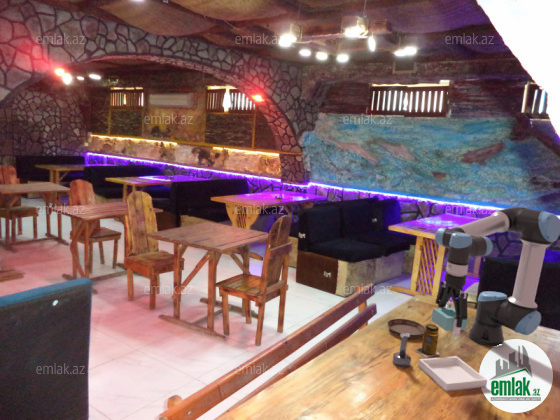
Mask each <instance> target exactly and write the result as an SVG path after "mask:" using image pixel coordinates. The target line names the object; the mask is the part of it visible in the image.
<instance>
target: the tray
mask: <svg viewBox="0 0 560 420" xmlns="http://www.w3.org/2000/svg"><path fill="white" fill-rule="evenodd" d="M417 366H418V368H419V369H421V370H422V372H424V373H425V374H426V375H427V376H429V378H430V379H432V381H433V382H435V383H436V384H437V386H439V387H440V388H442V390H443V391H445V392H454V391H463V390H464V391H465V390H473V389H480V387H482V388H486V387H487V384H488V379H487V378H486V377H484V376H483V375H482V374H480V373H479V372H478V371H476V369H474V368H473V367H471V366H470V365H469V364H467V363H466V362H465V361H464V360H462V359H461V358H460V357H459V356H457V355H454V356H452V355H451V356H443V357H429V358H419V359H418V364H417ZM485 386H486V387H485Z"/></svg>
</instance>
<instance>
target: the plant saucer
mask: <svg viewBox="0 0 560 420" xmlns="http://www.w3.org/2000/svg"><path fill="white" fill-rule="evenodd" d="M386 325H387V327H388V329H389V331H390V332H392V333H393V334H394V335H395V336H398V337H400V334H401V333H409V334H410V337H408V339H416V338H419V337H421V336H423V335H424V331H425V328H426V326H424V325H422V324H421V323H419V322H417V321H414V320H411V319H405V318H393V319H390V320H388V321H387V323H386Z"/></svg>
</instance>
